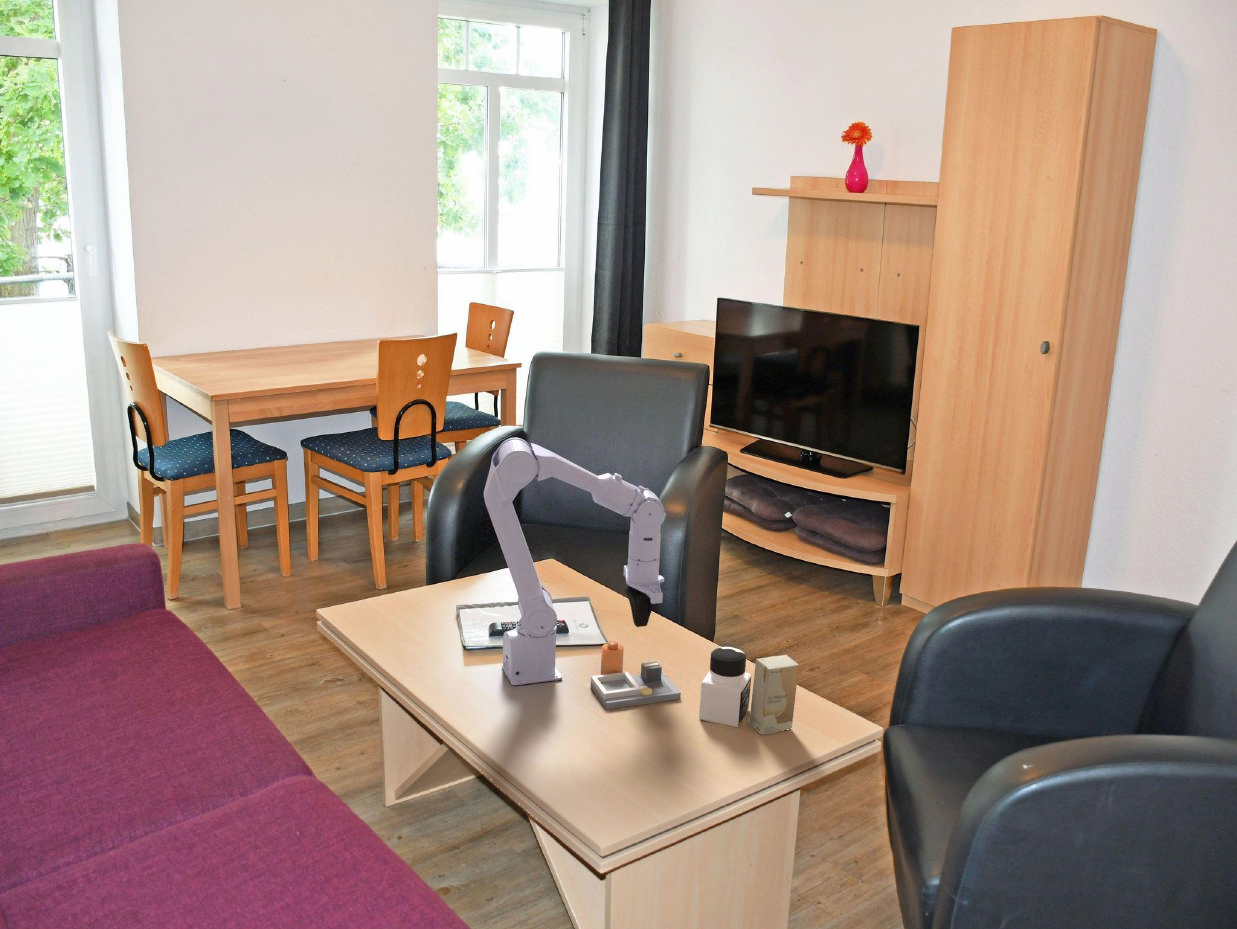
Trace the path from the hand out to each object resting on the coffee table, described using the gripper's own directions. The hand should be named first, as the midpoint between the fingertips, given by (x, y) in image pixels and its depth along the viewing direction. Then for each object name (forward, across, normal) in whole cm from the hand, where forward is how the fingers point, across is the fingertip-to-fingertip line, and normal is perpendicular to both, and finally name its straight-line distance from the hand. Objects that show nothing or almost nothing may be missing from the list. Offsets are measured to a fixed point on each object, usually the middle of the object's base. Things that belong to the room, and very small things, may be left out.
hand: (640, 625), depth 202 cm
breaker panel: (+9, -9, +4) cm, 13 cm away
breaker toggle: (+8, -6, 0) cm, 10 cm away
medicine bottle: (+9, -20, -8) cm, 24 cm away
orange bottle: (+9, -2, +6) cm, 11 cm away
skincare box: (+9, -26, -14) cm, 31 cm away
